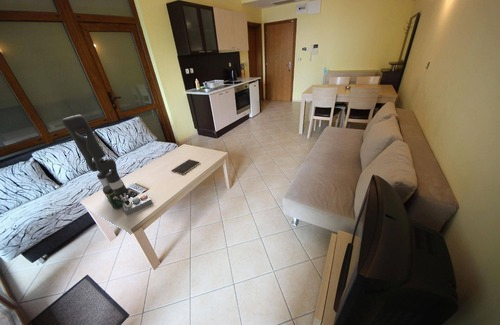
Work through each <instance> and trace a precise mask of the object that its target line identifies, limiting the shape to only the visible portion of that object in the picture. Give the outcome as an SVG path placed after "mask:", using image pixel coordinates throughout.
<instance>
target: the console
mask: <svg viewBox="0 0 500 325" xmlns="http://www.w3.org/2000/svg"><path fill="white" fill-rule="evenodd" d="M143 195H146V196H147V199H145V200H143V201H142V199H141V197H142V196H143ZM137 197H138V199H139V201H140V202H138V203H136V204H134V202H133V201H132V199H133V198H132V199H131V198H130V199H128V200H129V202H131V204H132V206H130V207H128V208H126V206H125V203H123V204H122V205H123V207H122V208H123V209H124V210H123V211H124V212H125V214H126V216H127V217H128V216H129V215H131V214H134V213H135V212H138V211H140V210H143V209H144V208H146V207H148V206H150V205H152V204H153V201H152V199H151V197H150V196H149V194H148V192H144V193H143V194H140V195H138V196H137Z"/></svg>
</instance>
